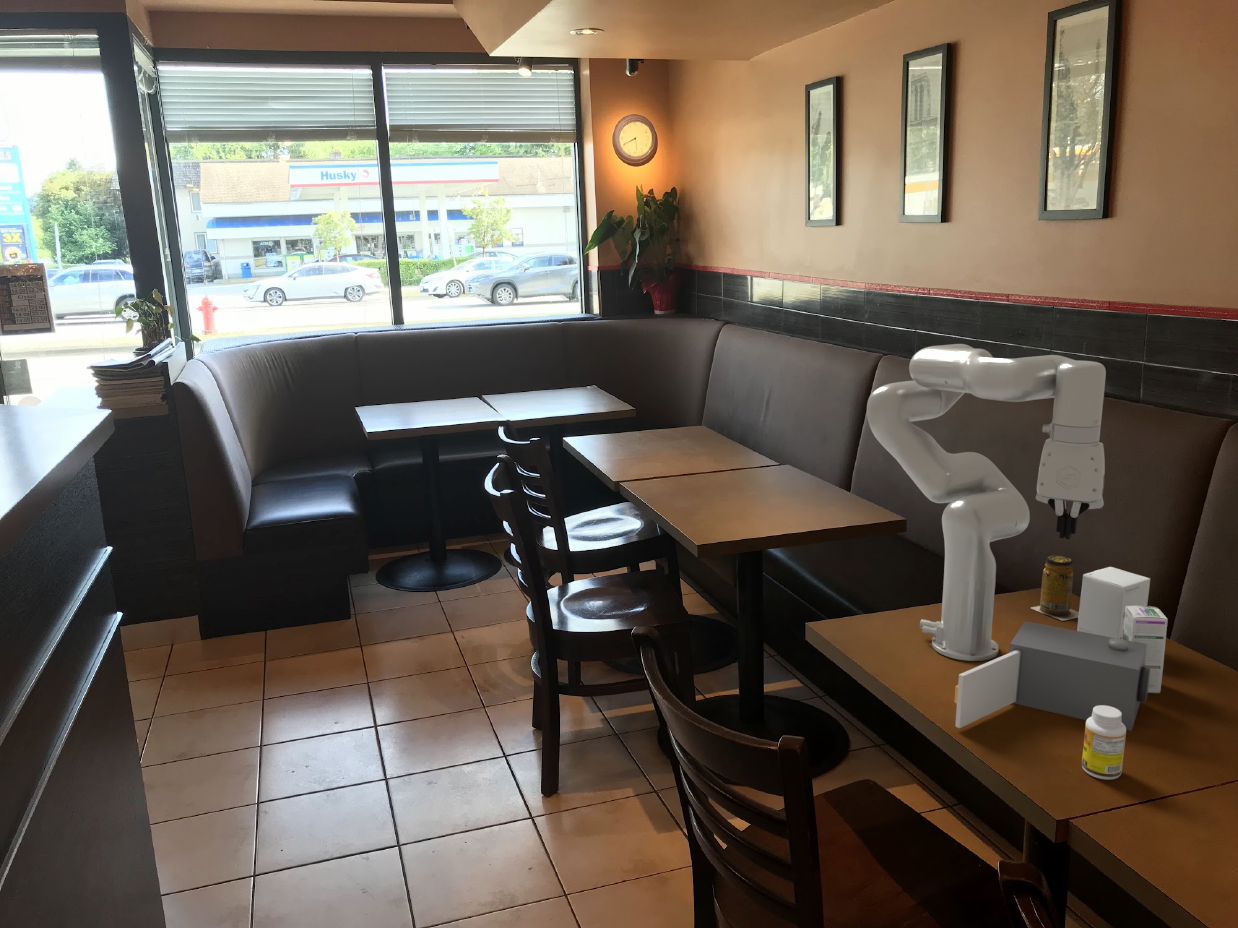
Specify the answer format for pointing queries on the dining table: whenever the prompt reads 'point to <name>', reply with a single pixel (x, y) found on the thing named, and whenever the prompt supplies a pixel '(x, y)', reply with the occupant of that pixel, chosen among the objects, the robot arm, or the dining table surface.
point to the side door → (987, 688)
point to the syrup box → (1148, 638)
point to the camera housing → (1079, 672)
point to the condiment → (1057, 589)
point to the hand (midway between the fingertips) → (1065, 536)
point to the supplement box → (1109, 600)
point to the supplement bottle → (1104, 743)
